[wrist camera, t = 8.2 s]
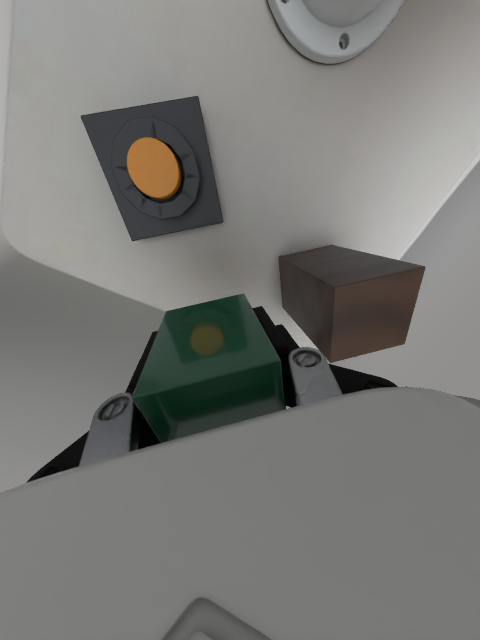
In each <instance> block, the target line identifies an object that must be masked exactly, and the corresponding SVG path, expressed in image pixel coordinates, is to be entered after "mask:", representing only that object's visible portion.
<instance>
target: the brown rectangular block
mask: <svg viewBox="0 0 480 640" xmlns="http://www.w3.org/2000/svg"><path fill="white" fill-rule="evenodd" d="M279 268H280V280H281V292H282V304H283V308H284V309H285V311H286V312H287V313H288V314H289V315H290V316H291V318H292V319H293V320H294V321H295V322H296V323H297V325H298V326H299V327H300V328H301V329H302V330H303V332H304V333H305V334H306V335H307V336H308V337H309V339H310V340H311V341H312V342H313V343H314V344H315V346H316V347H317V348H318V349H319V350H320V351H321V352H322V353H323V355H324V356H325V357H326V358H327V360H328V361H329V362H330V363H332V362H336V361H340V360H344V359H347V358H351V357H356V356H359V355H363V354H367V353H371V352H375V351H379V350H383V349H387V348H391V347H395V346H398V345H402V344H405V341H406V337H407V333H408V330H409V326H410V322H411V318H412V315H413V311H414V308H415V303H416V300H417V296H418V293H419V289H420V285H421V282H422V278H423V274H424V271H425V266H421V265H417V264H412V263H408V262H404V261H399V260H395V259H391V258H386V257H382V256H378V255H373V254H369V253H365V252H360V251H356V250H352V249H347V248H343V247H339V246H334V245H330V246H326V247H321V248H316V249H312V250H307V251H303V252H298V253H294V254H289V255H285V256H280V257H279Z"/></svg>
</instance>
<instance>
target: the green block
mask: <svg viewBox="0 0 480 640" xmlns="http://www.w3.org/2000/svg"><path fill="white" fill-rule="evenodd" d="M132 400H133V401H134V403H135V404H136V406H137V408H138V409H139V411H140V412H141V414H142V415H143V417H144V419H145V420H146V422H147V423H148V425H149V427H150V428H151V430H152V431H153V433H154V434H155V436H156V438H157V439H158V441H159V442H160V443H164V442H167V441H171V440H175V439H178V438H182V437H186V436H189V435H193V434H196V433H200V432H204V431H207V430H211V429H215V428H218V427H222V426H226V425H229V424H233V423H237V422H240V421H244V420H248V419H252V418H255V417H259V416H263V415H267V414H270V413H274V412H278V411H282V410H285V409H286V404H285V395H284V386H283V376H282V367H281V359H280V358H279V356H278V354H277V352H276V350H275V349H274V347H273V345H272V343H271V341H270V340H269V338H268V336H267V334H266V332H265V331H264V329H263V327H262V325H261V323H260V322H259V320H258V318H257V316H256V314H255V312H254V311H253V309H252V307H251V305H250V303H249V302H248V300H247V298H246V296H245V294H239V295H235V296H230V297H226V298H222V299H217V300H213V301H209V302H205V303H200V304H196V305H192V306H187V307H183V308H179V309H174V310H170V311H166V312H165V315H164V318H163V320H162V322H161V325H160V328H159V330H158V333H157V335H156V338H155V340H154V343H153V345H152V348H151V350H150V353H149V355H148V358H147V360H146V363H145V365H144V368H143V370H142V373H141V375H140V378H139V380H138V383H137V385H136V388H135V391H134V393H133V396H132Z"/></svg>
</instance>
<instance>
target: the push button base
mask: <svg viewBox="0 0 480 640" xmlns="http://www.w3.org/2000/svg"><path fill="white" fill-rule="evenodd" d="M81 118H82V121H83V123H84V126H85V128H86V131H87V133H88V135H89V138H90V140H91V143H92V145H93V148H94V150H95V152H96V155H97V157H98V160H99V162H100V164H101V167H102V169H103V172H104V174H105V177H106V179H107V181H108V184H109V186H110V189H111V191H112V194H113V196H114V198H115V201H116V203H117V206H118V208H119V211H120V213H121V215H122V218H123V220H124V223H125V225H126V227H127V230H128V232H129V235H130V237H131V240H132V241H135V240H140V239H145V238H150V237H155V236H160V235H164V234H169V233H174V232H179V231H184V230H189V229H193V228H198V227H203V226H208V225H213V224H218V223H222V222H223V220H222V215H221V210H220V205H219V199H218V194H217V189H216V184H215V179H214V174H213V169H212V164H211V159H210V154H209V149H208V144H207V139H206V134H205V128H204V123H203V118H202V113H201V108H200V103H199V98H198V96H194V97H188V98H182V99H177V100H171V101H165V102H159V103H153V104H147V105H141V106H135V107H129V108H123V109H117V110H111V111H106V112H100V113H94V114H88V115H82V116H81ZM144 137H151V138H155V139H158V140H160V141H161V142H163V143H164V144H165V145H166V146H168V148H169V149H170V150H171V151H172V153H173V154H174V156H175V158H176V160H177V162H178V164H179V167H180V171H181V184H180V187H179V189H178V191H177V192H176V193H175V194H174V195H173V196H172V197H170V198H167V199H157V198H154V197H151V196H149V195H146V194H145V193H143V192H142V191H141V190H140V189H139V188H138V187H137V186H136V185H135V184H134V182H133V181H132V179H131V177H130V175H129V172H128V168H127V155H128V151H129V149H130V147H131V145H132V144H133V143H134V142H135V141H136V140H138V139H140V138H144Z"/></svg>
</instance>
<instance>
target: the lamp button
mask: <svg viewBox="0 0 480 640" xmlns="http://www.w3.org/2000/svg"><path fill="white" fill-rule="evenodd" d="M127 168H128V172H129V175H130V177H131V179H132V181H133V182H134V184H135V185H136V186H137V187H138V188H139V189H140V190H141V191H142V192H143V193H145V194H146V195H149V196H151V197H154V198H157V199H167V198H170V197H172V196H173V195H174V194H175V193H176V192H177V191H178V189H179V187H180V184H181V171H180V167H179V164H178V162H177V160H176V158H175V156H174V154H173V153H172V151H171V150H170V149H169V148H168V146H166V145H165V144H164V143H163V142H161V141H160V140H158V139H155V138H151V137H144V138H140V139H138V140H136V141H135V142H134V143H133V144H132V145H131V147H130V149H129V151H128V155H127Z"/></svg>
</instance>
